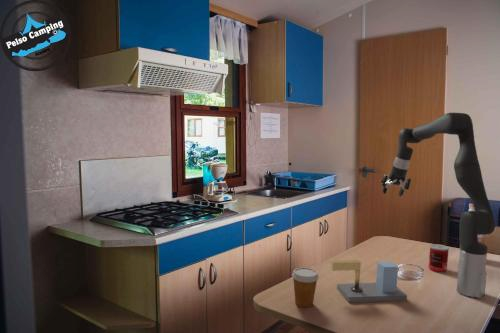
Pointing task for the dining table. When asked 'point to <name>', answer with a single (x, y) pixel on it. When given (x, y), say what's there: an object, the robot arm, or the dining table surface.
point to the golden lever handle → (348, 268)
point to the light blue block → (386, 276)
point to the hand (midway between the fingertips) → (392, 194)
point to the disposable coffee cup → (304, 286)
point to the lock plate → (369, 293)
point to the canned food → (438, 258)
